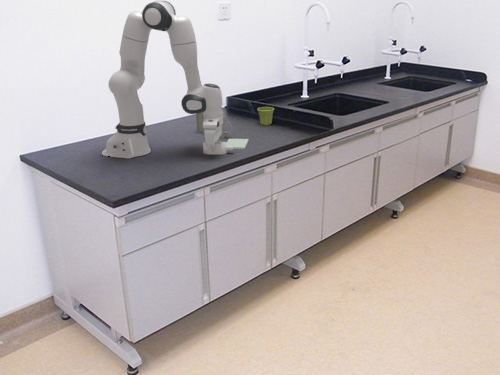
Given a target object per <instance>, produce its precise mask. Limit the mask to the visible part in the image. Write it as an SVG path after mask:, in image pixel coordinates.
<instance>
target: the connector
mask: <svg viewBox="0 0 500 375" xmlns="http://www.w3.org/2000/svg"><path fill="white" fill-rule="evenodd" d="M226 143H227V141H219V142H216V143H215V152H211V148H210V145H206V142H205V141H203V142H202V147H203V148H202V150H203V155H220V156H221V155H224V156H225V155H226V154H228V153H227V152H228V151H234V149H233V146H226Z"/></svg>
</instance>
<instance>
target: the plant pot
mask: <svg viewBox="0 0 500 375" xmlns="http://www.w3.org/2000/svg"><path fill="white" fill-rule="evenodd" d="M274 110H275V108H274V107H270V106H262V107H258V108H257V110H256V111H257V113H258V116H259V123H260V125H262V126H263V125H264V126H270V125H272V122H273V113H274Z"/></svg>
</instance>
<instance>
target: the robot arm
mask: <svg viewBox="0 0 500 375" xmlns="http://www.w3.org/2000/svg"><path fill="white" fill-rule="evenodd" d="M152 30H155V31H161V32H167V35H168V37H169V42H170V43H169V45H170V48H171V53H172V56H173V58H174V60H175V62H176V63H178V64H179V65H180V66H181V67H182V68H183V71H184V75H185V80H186V84H187V86H186V87H187V91H186V94H185V95H184V96H183V97H182V99H181V107H182V110H183V111H184V112H185V113H186V114H189V115H196V114H197V113H201V112H203V116H204V121H203V128H205V129H204V133H203V134H204V140H205V141H204V142H206V145H210V148H211V152H215V143H216V142H220V135H221V134H222V124H223V111H224V110H223V108H222V107H223V93H222V89H221V87H220V86H219V85H217V84H215V83H204V84H203V85H202V82H201V76H200V70H199V67H198V65H199V64H198V47H197V46H198V45H197V40H196V34H195V31H194V27H193V24H192V21H191V20H190V18H189V17H187V16H185V15H176V8H175V7H174V6H173V4H172V3H171V2H169V1H168V0H167V1H166V0H154V1H153V2H149V3H148V4H146V5H145V6H144V8H143V9H142V11H138V10H137V11H136V10H134V11H131V12H129V14H128V15H127V18H126V19H125V23H124V26H123V31H122V36H121V42H120V46H119V51H118V52H119V55H120V68H119V70H118V71H116V72H113V74H112V75H111V76H110V77H109V80H108V88H109V91H110V93H112V94H113V97H114V100H115V103H116V106H117V111H118V112H117V113H118V118H119V122H118V124H117V125H115V130H117V131H116V132H115V133H114V134H113V135H111V136H110V137H109V138H108V139H107V141H106V144H105V149H103V150H102V152H101V155H103V157H108V156H110V157H111V158H120V159H132V158H136V157H141V156H145V155H147V154H150V153H151V152H152V150H151V148H150V144H149V142H148V137H147V125H146V122H145V116H144V108H143V107H144V106H143V104H142V102H141V100H140V98H139V94H138V93H139V92H138V91H139V89H141V88H142V87H143V85H144V82H145V80H146V76H145V64H146V63H145V62H146V61H145V60H146V55H147V54H146V53H147V49H148V44H149V37H150V34H151V31H152ZM110 157H109V158H110Z"/></svg>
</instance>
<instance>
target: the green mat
mask: <svg viewBox="0 0 500 375" xmlns="http://www.w3.org/2000/svg"><path fill="white" fill-rule="evenodd" d="M249 141H250V140H249V138H228V139H227V141H226V146H233V150H241V151H242V150H245V149H246V148H247V145H248V143H249Z"/></svg>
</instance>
